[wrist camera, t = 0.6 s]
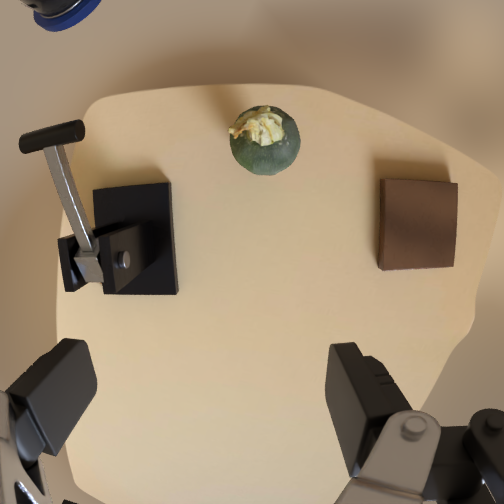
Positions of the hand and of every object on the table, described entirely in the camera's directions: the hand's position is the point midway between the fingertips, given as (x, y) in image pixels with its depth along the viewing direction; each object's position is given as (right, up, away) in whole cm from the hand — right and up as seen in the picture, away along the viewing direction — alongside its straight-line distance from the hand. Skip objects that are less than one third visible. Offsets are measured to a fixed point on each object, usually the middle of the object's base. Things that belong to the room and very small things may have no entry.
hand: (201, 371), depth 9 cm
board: (+21, +7, +24) cm, 32 cm away
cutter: (-11, +5, +24) cm, 27 cm away
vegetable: (+3, +13, +23) cm, 27 cm away
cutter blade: (-11, +8, +12) cm, 18 cm away
